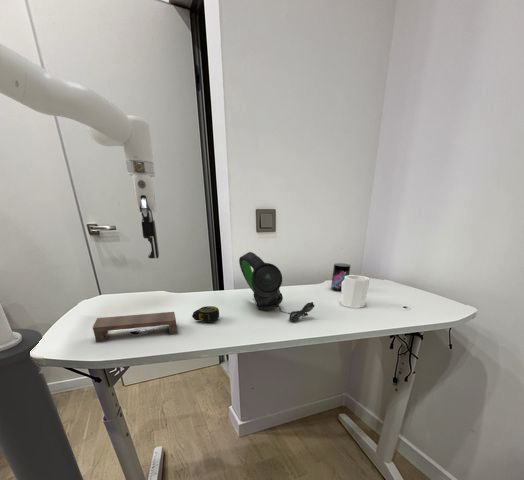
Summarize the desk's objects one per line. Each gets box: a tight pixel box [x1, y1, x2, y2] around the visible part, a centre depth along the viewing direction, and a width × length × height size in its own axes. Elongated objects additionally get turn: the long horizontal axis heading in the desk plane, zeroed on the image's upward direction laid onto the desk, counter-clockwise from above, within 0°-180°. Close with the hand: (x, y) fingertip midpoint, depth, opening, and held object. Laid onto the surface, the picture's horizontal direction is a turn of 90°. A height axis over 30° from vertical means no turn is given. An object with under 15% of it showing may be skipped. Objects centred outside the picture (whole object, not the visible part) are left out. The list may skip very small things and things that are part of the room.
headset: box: [238, 251, 315, 322], centre depth 95 cm, size 18×14×29 cm
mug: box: [340, 274, 370, 309], centre depth 106 cm, size 12×9×10 cm
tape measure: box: [191, 305, 220, 323], centre depth 88 cm, size 7×7×4 cm
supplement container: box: [330, 262, 352, 292], centre depth 122 cm, size 7×7×10 cm
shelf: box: [92, 311, 178, 343], centre depth 79 cm, size 20×7×4 cm, turn 109°
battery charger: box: [142, 219, 160, 259], centre depth 94 cm, size 7×4×11 cm, turn 16°
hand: (149, 234), depth 93 cm, fingers closed on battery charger, 7 cm apart
